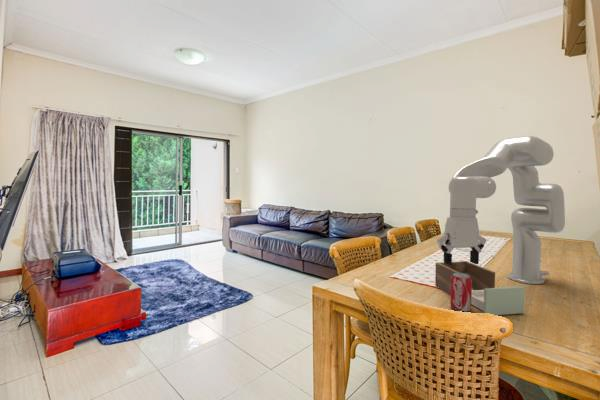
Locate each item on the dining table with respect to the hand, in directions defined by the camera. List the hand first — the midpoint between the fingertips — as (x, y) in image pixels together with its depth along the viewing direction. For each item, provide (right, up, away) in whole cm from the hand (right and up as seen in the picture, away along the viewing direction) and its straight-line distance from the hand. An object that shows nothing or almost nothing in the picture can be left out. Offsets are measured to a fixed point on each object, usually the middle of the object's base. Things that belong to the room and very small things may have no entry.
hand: (461, 263), depth 95 cm
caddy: (+10, -15, +15) cm, 24 cm away
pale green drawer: (+11, -16, +5) cm, 20 cm away
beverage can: (+1, -16, +1) cm, 16 cm away
